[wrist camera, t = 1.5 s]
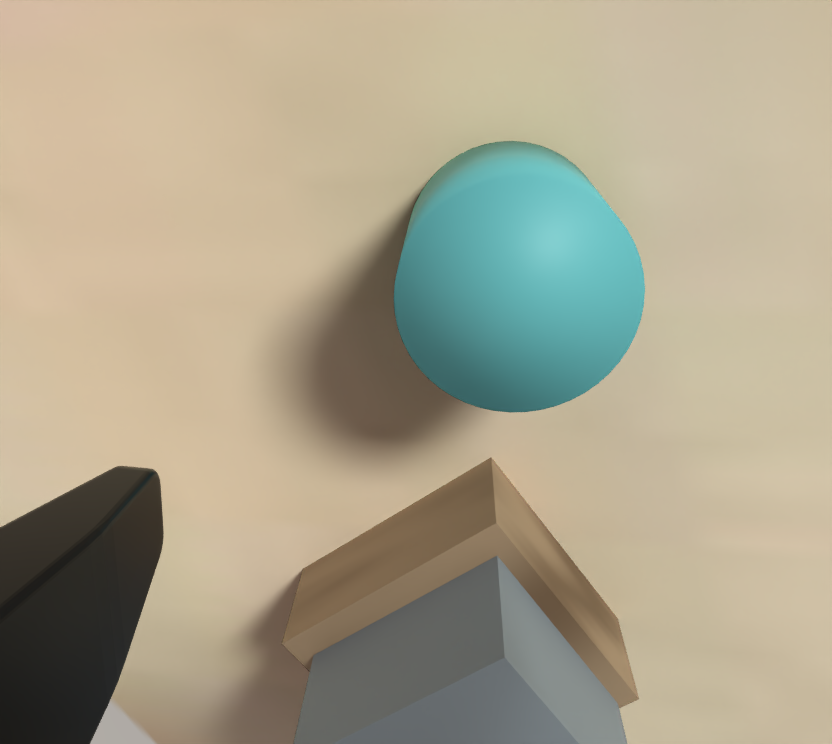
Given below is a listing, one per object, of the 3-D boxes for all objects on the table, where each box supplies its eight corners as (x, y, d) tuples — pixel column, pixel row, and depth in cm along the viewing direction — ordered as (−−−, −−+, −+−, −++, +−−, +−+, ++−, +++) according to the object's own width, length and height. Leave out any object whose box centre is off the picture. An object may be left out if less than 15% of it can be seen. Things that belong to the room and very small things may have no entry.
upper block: (618, 703, 22) (645, 821, 19) (439, 785, 23) (437, 905, 20) (497, 555, 20) (504, 657, 17) (313, 655, 22) (288, 765, 18)
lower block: (615, 611, 25) (638, 699, 22) (435, 702, 27) (432, 794, 24) (491, 451, 23) (496, 523, 20) (304, 563, 25) (281, 644, 22)
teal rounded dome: (629, 297, 20) (672, 368, 16) (448, 360, 21) (445, 441, 17) (572, 108, 19) (604, 134, 14) (377, 185, 20) (355, 230, 15)
